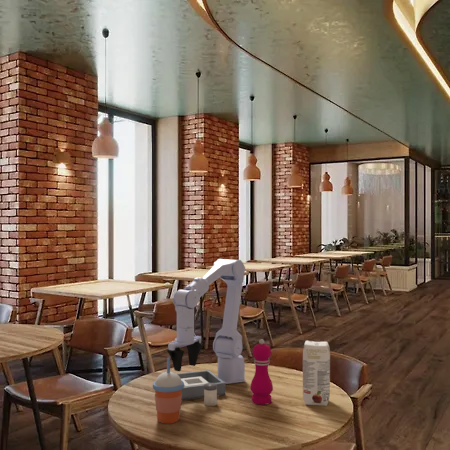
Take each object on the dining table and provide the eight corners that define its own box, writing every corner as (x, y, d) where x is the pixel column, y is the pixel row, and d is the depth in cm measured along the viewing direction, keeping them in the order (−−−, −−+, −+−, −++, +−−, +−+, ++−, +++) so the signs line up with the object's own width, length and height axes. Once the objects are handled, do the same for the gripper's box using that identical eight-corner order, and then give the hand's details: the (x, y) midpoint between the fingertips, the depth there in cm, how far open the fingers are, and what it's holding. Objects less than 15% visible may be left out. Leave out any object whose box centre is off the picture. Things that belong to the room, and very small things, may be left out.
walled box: (208, 381, 183) (208, 370, 183) (225, 394, 169) (225, 382, 169) (163, 386, 177) (163, 374, 177) (176, 401, 162) (176, 388, 162)
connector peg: (214, 400, 163) (214, 382, 163) (218, 405, 159) (218, 385, 159) (202, 402, 161) (202, 383, 161) (206, 406, 158) (206, 387, 158)
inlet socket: (201, 383, 178) (201, 376, 178) (209, 391, 171) (209, 383, 171) (178, 386, 175) (178, 379, 175) (185, 394, 167) (185, 386, 167)
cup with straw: (146, 422, 145) (146, 359, 145) (164, 411, 153) (164, 352, 153) (172, 428, 141) (172, 363, 141) (189, 417, 149) (190, 356, 149)
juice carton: (329, 407, 157) (330, 346, 157) (302, 405, 159) (302, 344, 159) (329, 399, 165) (330, 340, 165) (303, 397, 167) (303, 339, 167)
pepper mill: (271, 406, 158) (271, 342, 158) (248, 404, 160) (248, 341, 160) (273, 398, 165) (274, 337, 165) (252, 396, 167) (252, 336, 167)
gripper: (190, 321, 174) (189, 361, 174) (161, 328, 162) (161, 371, 162) (206, 324, 170) (206, 364, 170) (177, 331, 158) (177, 374, 158)
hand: (185, 368), depth 166 cm, fingers open, 7 cm apart
